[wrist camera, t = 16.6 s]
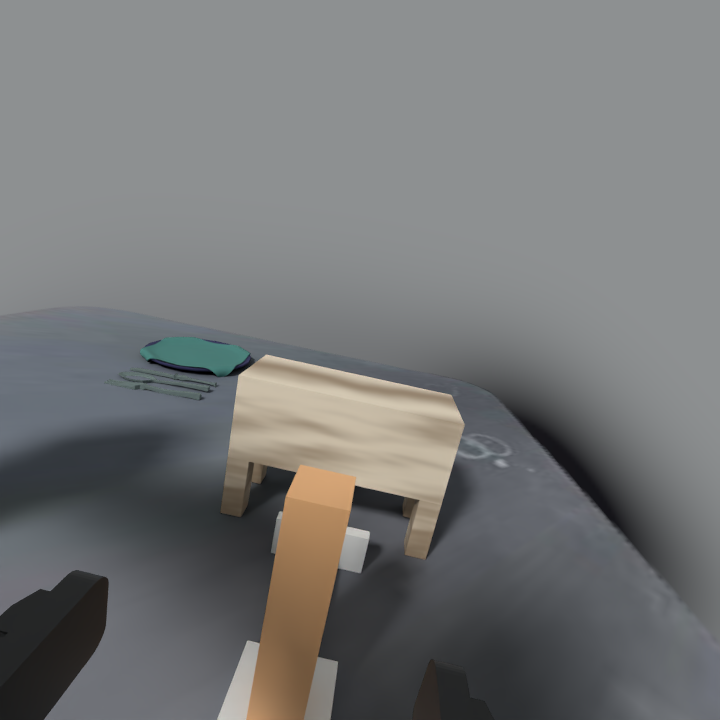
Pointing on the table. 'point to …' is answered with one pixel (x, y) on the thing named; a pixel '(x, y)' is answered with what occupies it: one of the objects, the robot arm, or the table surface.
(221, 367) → the cutlery set
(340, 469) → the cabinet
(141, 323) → the table surface
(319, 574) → the orange post on base
